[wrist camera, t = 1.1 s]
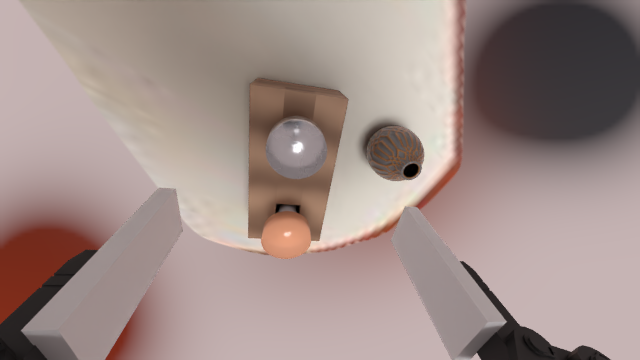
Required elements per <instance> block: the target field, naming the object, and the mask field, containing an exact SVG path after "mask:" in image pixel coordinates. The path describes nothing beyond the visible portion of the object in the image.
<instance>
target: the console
mask: <svg viewBox="0 0 640 360" xmlns="http://www.w3.org/2000/svg"><path fill="white" fill-rule="evenodd" d="M347 104H348V98H346V97H345V96H344V95H343V94H342V93H341V92H340V91H337V90H331V89H325V88H318V87H312V86H305V85H299V84H293V83H286V82H280V81H273V80H267V79H260V78H257V79H256V80H255V81H254V82H252V83H251V84H250V115H249V217H248V238H261V239H262V233H263V227H264V224H265V222H266V220H267V219H268V218H269V217H270V216H272V215H273V214H275V213H278V211H279V205H280V204H289V205H296V213H299V214H301V215H302V216H304V217H305V218H306V219H307V221H308V223H309V225H310V235H311V241H319V239H320V234H321V229H322V225H323V220H324V215H325V210H326V205H327V201H328V196H329V191H330V186H331V181H332V176H333V172H334V167H335V162H336V157H337V152H338V147H339V143H340V138H341V133H342V128H343V123H344V118H345V114H346V109H347ZM290 116H301V117H305V118H308V119H310V120H312V121H313V122H314V123H316V124H317V125H318V127H319V128H320V129H321V131H322V133H323V136H324V138H325V141H326V144H327V157H326V160H325V162H324V164H323V166H322V167H321V168H320V169H319V170H318V171H317V172H316V173H315V174H313V175H311V176H309V177H306V178H302V179H291V178H287V177H284V176H282V175H280V174H278V173H277V172H276V171H275V170H274V169H273V168H272V167H271V166H270V164H269V162H268V160H267V157H266V143H267V140H268V136H269V133H270V131H271V129H272V128H273V126H274V125H275V124H276V123H277V122H279V121H280V120H282V119H284V118H287V117H290Z"/></svg>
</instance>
